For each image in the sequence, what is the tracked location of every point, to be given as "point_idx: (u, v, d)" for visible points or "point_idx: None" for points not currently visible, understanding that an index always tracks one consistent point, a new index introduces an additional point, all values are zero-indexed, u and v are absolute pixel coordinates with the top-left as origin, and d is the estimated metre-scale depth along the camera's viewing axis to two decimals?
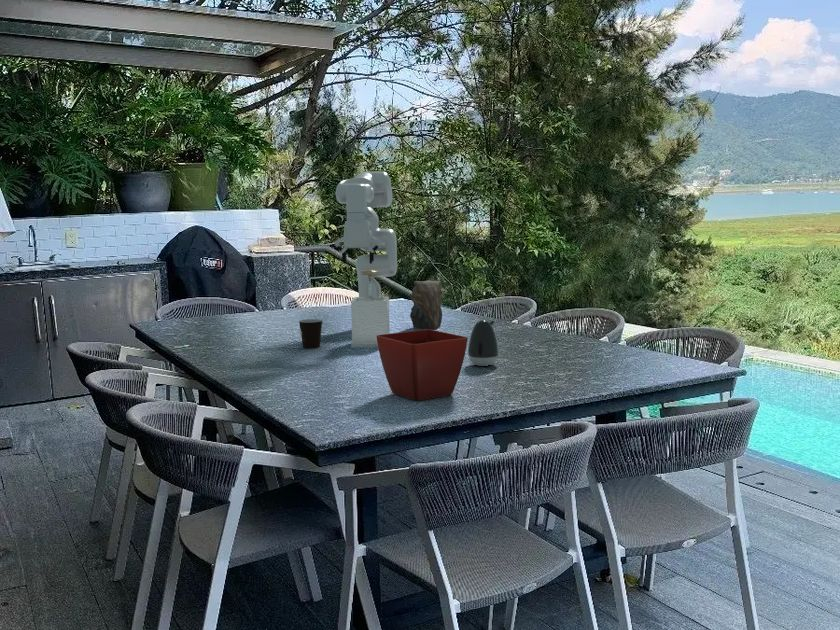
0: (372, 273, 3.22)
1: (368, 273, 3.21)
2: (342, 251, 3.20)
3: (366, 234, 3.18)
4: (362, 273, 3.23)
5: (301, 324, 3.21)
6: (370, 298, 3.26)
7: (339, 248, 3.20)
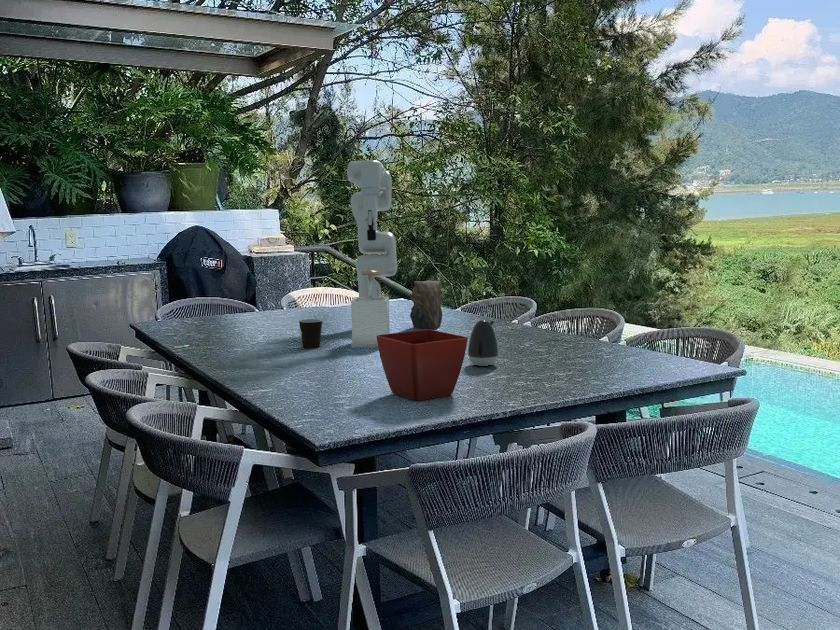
0: (372, 273, 3.22)
1: (368, 273, 3.21)
2: None
3: None
4: (362, 273, 3.23)
5: (301, 324, 3.21)
6: (370, 298, 3.26)
7: (373, 225, 3.32)
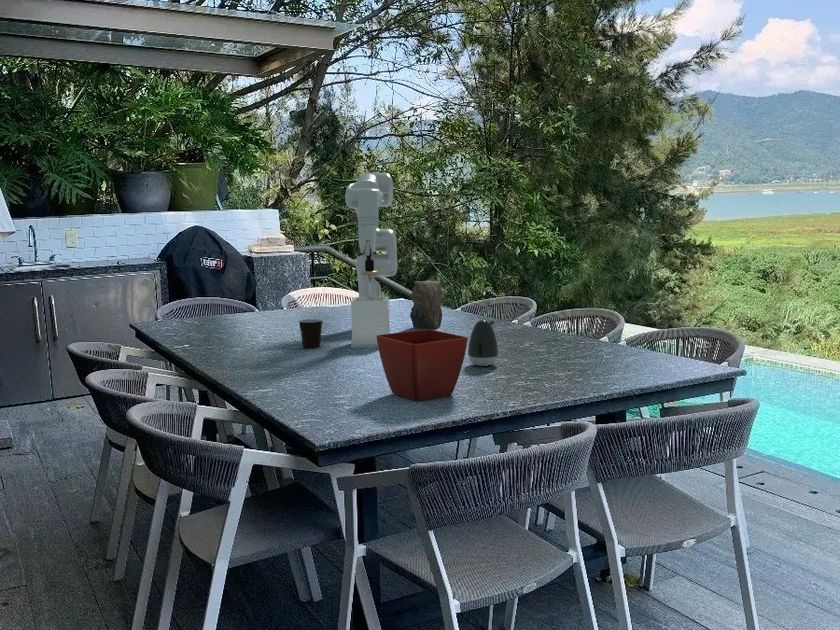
0: (372, 273, 3.22)
1: (368, 273, 3.21)
2: None
3: None
4: (362, 273, 3.23)
5: (301, 324, 3.21)
6: (370, 298, 3.26)
7: (370, 256, 3.22)
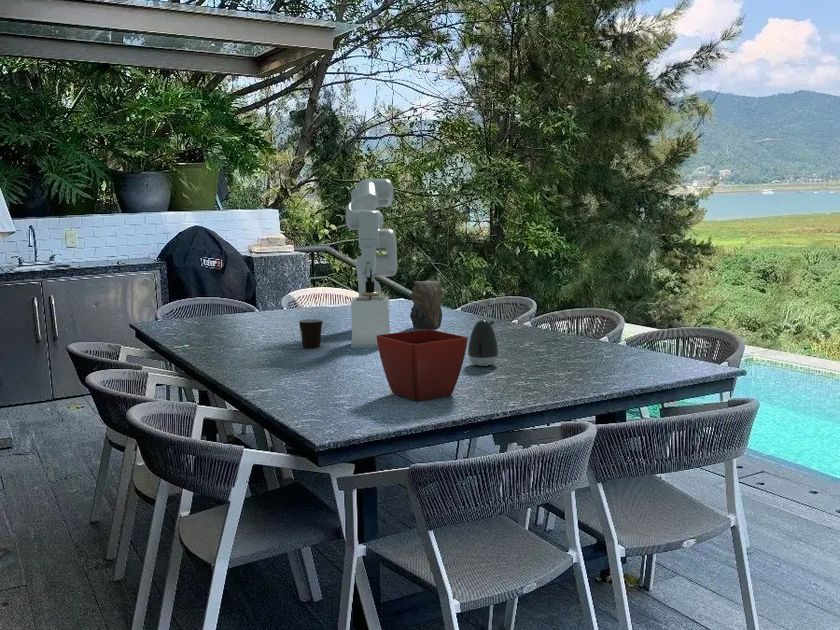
0: (372, 295, 3.23)
1: (368, 295, 3.22)
2: (372, 280, 3.24)
3: None
4: (363, 294, 3.24)
5: (301, 324, 3.21)
6: None
7: (371, 277, 3.23)
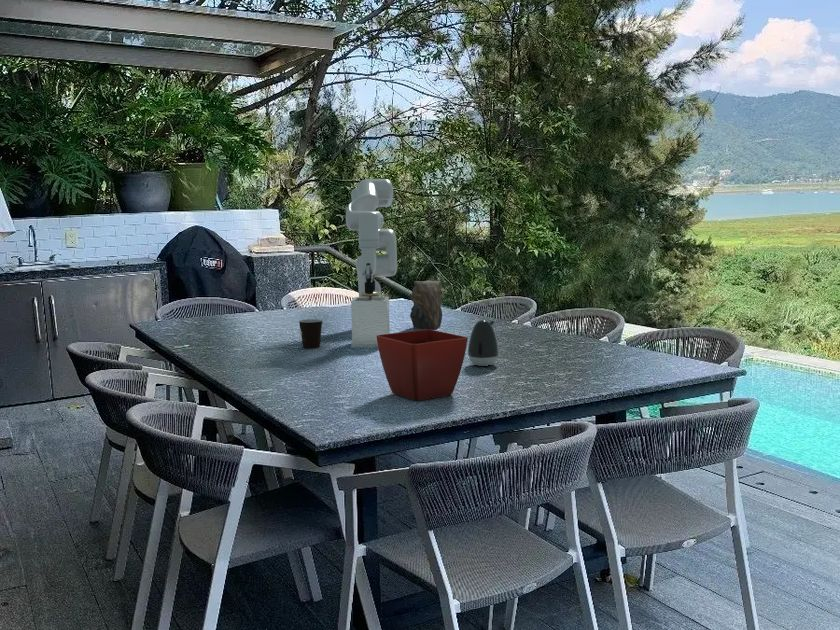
0: (372, 295, 3.23)
1: (368, 295, 3.22)
2: (371, 280, 3.21)
3: None
4: (363, 295, 3.24)
5: (301, 324, 3.21)
6: None
7: (370, 278, 3.19)
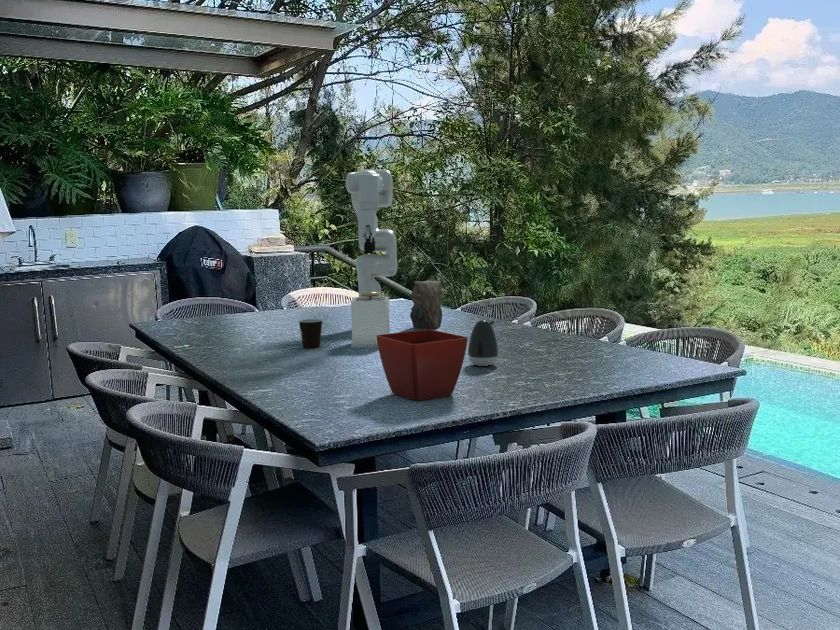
0: (372, 295, 3.23)
1: (368, 295, 3.22)
2: (371, 240, 3.21)
3: None
4: (363, 295, 3.24)
5: (301, 324, 3.21)
6: None
7: (370, 238, 3.20)
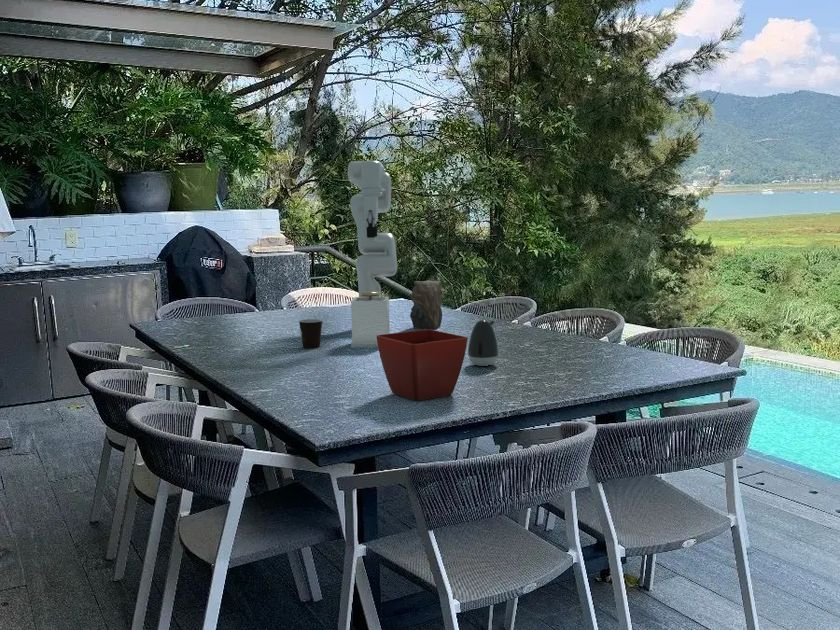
0: (372, 295, 3.23)
1: (368, 295, 3.22)
2: (373, 225, 3.31)
3: None
4: (363, 295, 3.24)
5: (301, 324, 3.21)
6: None
7: (372, 222, 3.30)
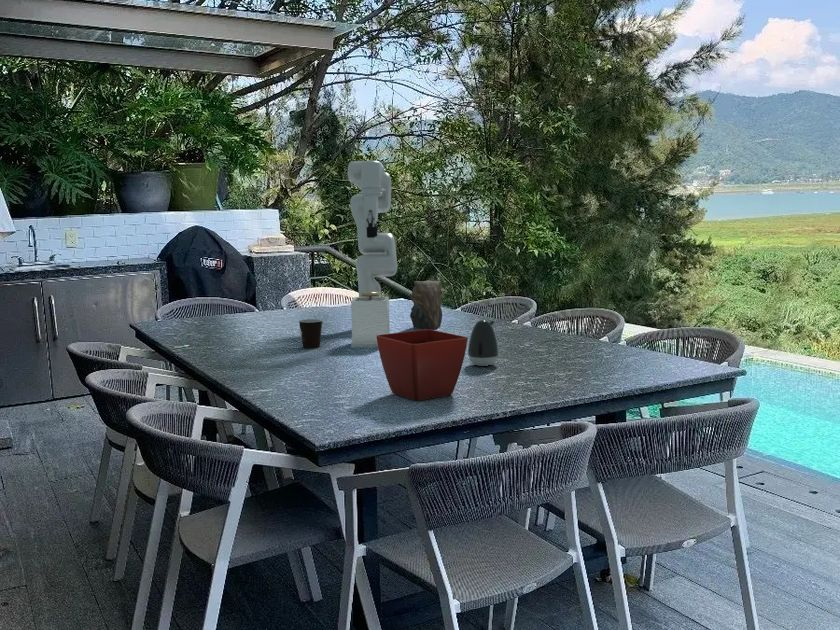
0: (372, 295, 3.23)
1: (368, 295, 3.22)
2: (373, 225, 3.31)
3: None
4: (363, 295, 3.24)
5: (301, 324, 3.21)
6: None
7: (372, 222, 3.30)
